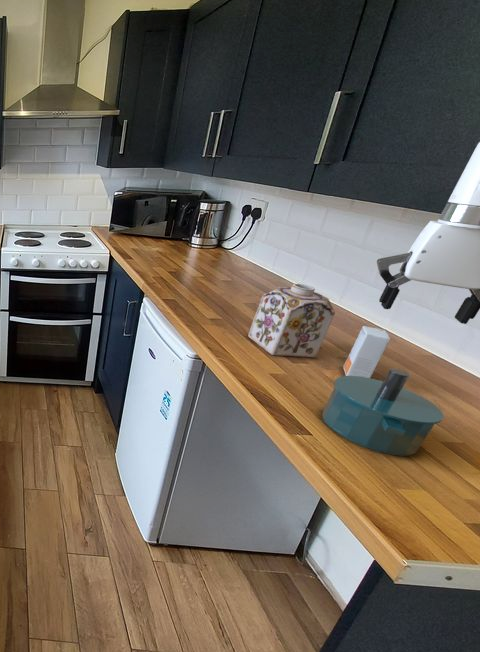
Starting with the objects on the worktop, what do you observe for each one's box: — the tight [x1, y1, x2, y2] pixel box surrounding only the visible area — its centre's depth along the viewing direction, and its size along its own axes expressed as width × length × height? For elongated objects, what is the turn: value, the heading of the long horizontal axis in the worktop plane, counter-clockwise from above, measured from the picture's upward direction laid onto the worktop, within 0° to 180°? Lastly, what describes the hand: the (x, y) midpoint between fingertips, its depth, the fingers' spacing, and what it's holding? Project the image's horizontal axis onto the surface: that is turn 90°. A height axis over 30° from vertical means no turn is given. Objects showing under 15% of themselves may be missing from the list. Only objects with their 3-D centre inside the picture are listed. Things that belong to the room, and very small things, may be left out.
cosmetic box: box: [342, 325, 391, 379], centre depth 96 cm, size 6×4×12 cm
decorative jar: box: [247, 283, 336, 358], centre depth 108 cm, size 12×12×18 cm
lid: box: [333, 368, 444, 425], centre depth 75 cm, size 15×15×7 cm
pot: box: [321, 387, 435, 457], centre depth 78 cm, size 14×19×8 cm
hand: (421, 313), depth 72 cm, fingers open, 9 cm apart
